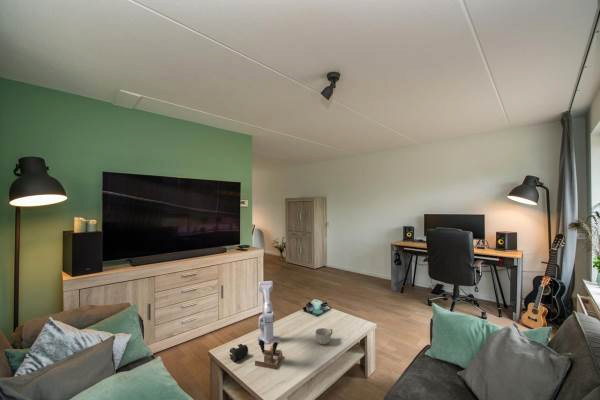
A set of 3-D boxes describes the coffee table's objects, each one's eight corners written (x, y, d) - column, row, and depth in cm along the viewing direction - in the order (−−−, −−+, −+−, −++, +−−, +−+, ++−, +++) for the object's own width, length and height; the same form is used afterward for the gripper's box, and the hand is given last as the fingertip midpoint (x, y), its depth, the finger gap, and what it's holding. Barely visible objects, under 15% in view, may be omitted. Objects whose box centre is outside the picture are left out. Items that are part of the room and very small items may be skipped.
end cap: (235, 363, 159) (235, 353, 159) (229, 359, 164) (229, 348, 164) (248, 356, 167) (248, 346, 167) (241, 352, 172) (241, 342, 172)
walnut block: (266, 358, 165) (266, 351, 165) (273, 359, 164) (273, 352, 164) (264, 362, 161) (264, 355, 161) (270, 363, 159) (270, 356, 159)
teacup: (319, 347, 176) (319, 336, 176) (312, 339, 187) (313, 328, 186) (337, 343, 182) (337, 332, 182) (329, 336, 192) (329, 325, 192)
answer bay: (263, 353, 170) (263, 349, 170) (282, 356, 167) (282, 352, 167) (254, 365, 158) (254, 361, 158) (275, 369, 154) (275, 365, 154)
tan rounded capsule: (271, 349, 175) (271, 342, 175) (276, 350, 174) (276, 342, 174) (269, 352, 171) (269, 345, 171) (274, 353, 170) (274, 346, 170)
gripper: (255, 333, 160) (255, 354, 160) (277, 336, 156) (277, 358, 157) (260, 327, 167) (260, 348, 167) (281, 330, 163) (281, 351, 163)
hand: (268, 352), depth 162 cm, fingers open, 7 cm apart
